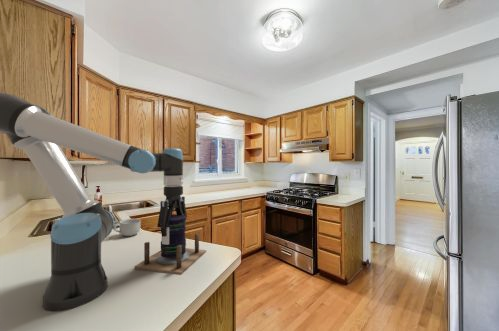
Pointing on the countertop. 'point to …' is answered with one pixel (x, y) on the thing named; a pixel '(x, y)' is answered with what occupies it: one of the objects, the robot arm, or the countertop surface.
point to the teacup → (129, 227)
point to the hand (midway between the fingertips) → (173, 239)
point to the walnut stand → (170, 259)
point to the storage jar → (175, 236)
